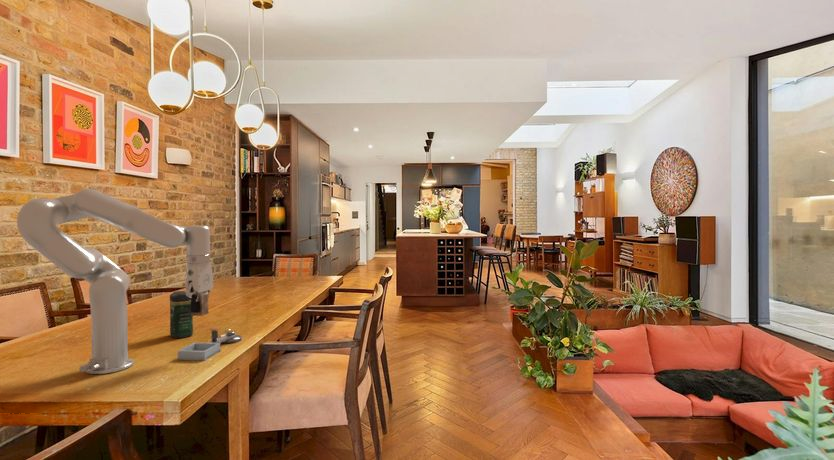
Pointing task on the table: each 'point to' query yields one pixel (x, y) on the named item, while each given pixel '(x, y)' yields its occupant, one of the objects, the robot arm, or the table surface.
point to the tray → (198, 351)
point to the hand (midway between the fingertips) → (199, 310)
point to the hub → (233, 339)
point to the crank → (221, 339)
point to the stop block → (202, 304)
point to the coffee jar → (180, 315)
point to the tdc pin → (227, 331)
